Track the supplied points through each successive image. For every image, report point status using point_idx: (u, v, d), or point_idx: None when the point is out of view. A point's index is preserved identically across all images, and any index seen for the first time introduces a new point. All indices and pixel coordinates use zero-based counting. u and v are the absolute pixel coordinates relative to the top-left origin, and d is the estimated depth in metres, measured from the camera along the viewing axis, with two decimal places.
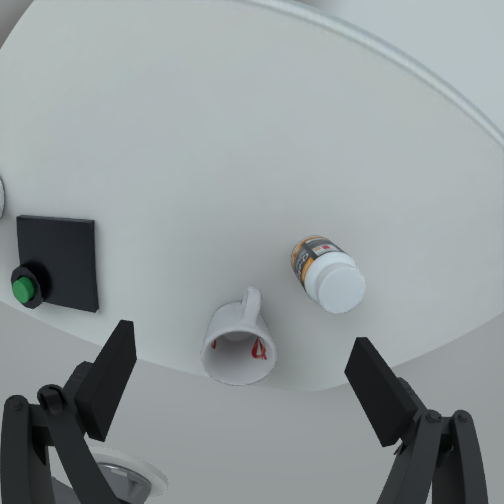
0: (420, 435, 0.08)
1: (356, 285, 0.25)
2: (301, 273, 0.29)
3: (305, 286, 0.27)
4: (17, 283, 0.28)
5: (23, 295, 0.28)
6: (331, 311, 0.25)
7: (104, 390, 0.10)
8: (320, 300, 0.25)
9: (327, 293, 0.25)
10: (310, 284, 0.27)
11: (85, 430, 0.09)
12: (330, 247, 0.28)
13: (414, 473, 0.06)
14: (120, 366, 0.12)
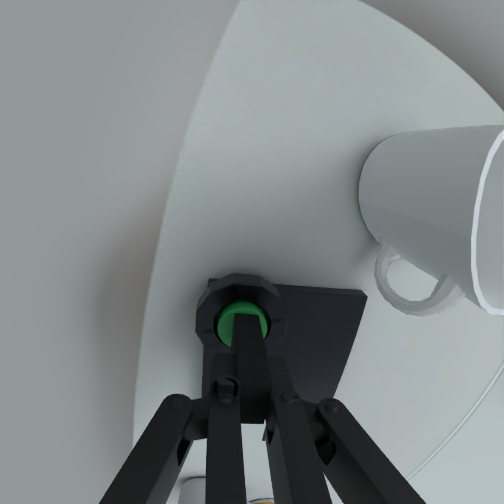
0: (282, 423, 0.09)
1: None
2: None
3: None
4: (262, 329, 0.18)
5: None
6: None
7: None
8: None
9: None
10: None
11: None
12: None
13: (297, 467, 0.07)
14: None
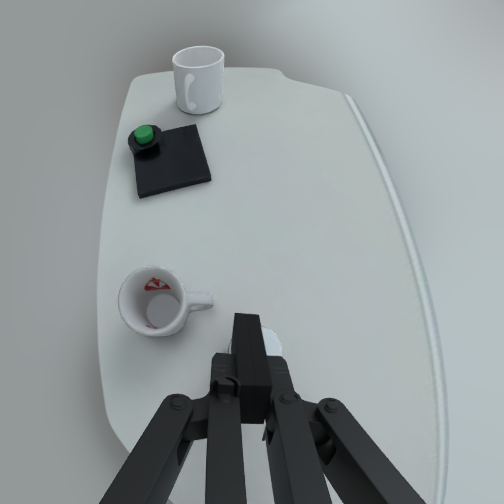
0: (282, 423, 0.09)
1: None
2: None
3: None
4: (150, 128, 0.43)
5: (141, 133, 0.43)
6: None
7: None
8: None
9: None
10: None
11: None
12: None
13: (296, 467, 0.07)
14: None
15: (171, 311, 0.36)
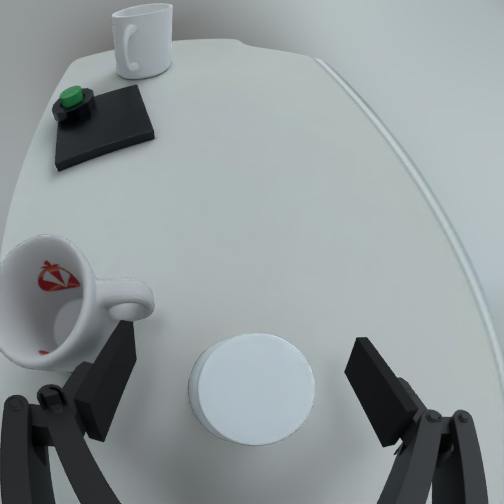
0: (420, 435, 0.08)
1: (287, 408, 0.10)
2: None
3: (207, 349, 0.13)
4: (79, 88, 0.27)
5: (67, 94, 0.26)
6: (201, 396, 0.10)
7: (104, 390, 0.10)
8: (212, 355, 0.10)
9: (235, 359, 0.10)
10: None
11: (85, 430, 0.09)
12: None
13: (414, 473, 0.06)
14: (120, 366, 0.12)
15: None
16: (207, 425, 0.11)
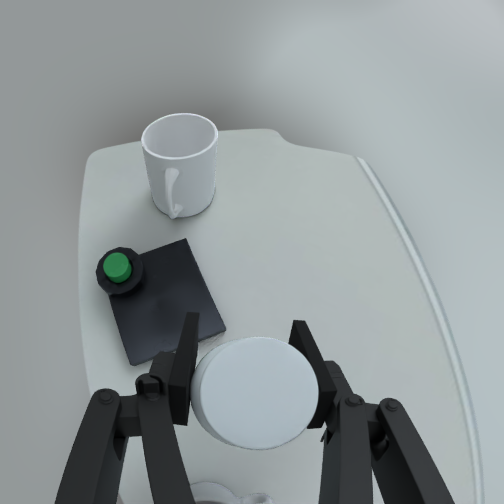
0: (344, 423, 0.09)
1: (290, 412, 0.10)
2: None
3: (209, 352, 0.13)
4: (125, 259, 0.31)
5: (114, 270, 0.30)
6: (204, 400, 0.09)
7: (189, 375, 0.12)
8: (215, 359, 0.10)
9: (238, 363, 0.10)
10: None
11: (170, 416, 0.11)
12: None
13: (349, 465, 0.07)
14: (194, 354, 0.14)
15: (217, 503, 0.22)
16: (209, 429, 0.11)
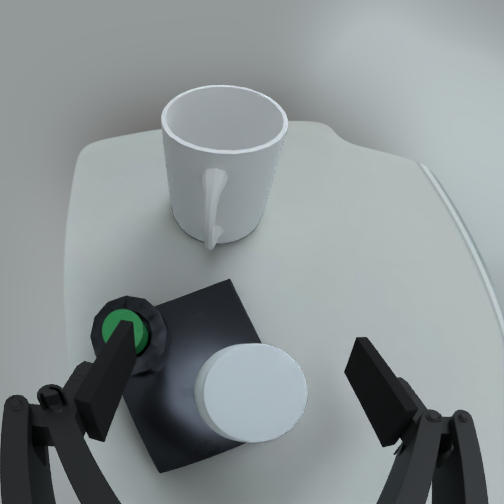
0: (420, 435, 0.08)
1: (282, 410, 0.11)
2: None
3: (211, 356, 0.14)
4: (137, 322, 0.18)
5: None
6: (206, 399, 0.11)
7: (104, 390, 0.10)
8: (216, 363, 0.12)
9: (236, 366, 0.12)
10: None
11: (85, 430, 0.09)
12: None
13: (413, 473, 0.06)
14: (120, 366, 0.12)
15: None
16: (211, 425, 0.12)
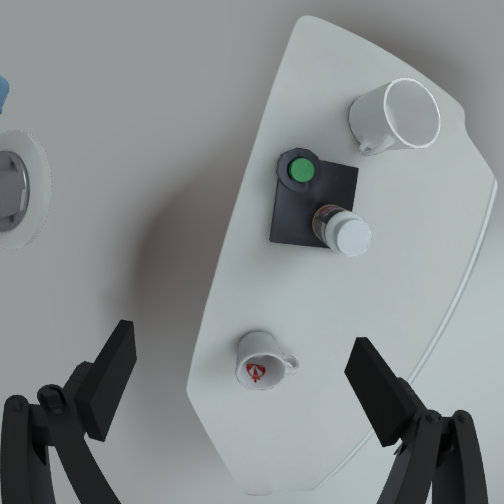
0: (420, 435, 0.08)
1: (357, 249, 0.33)
2: (344, 209, 0.36)
3: (343, 211, 0.34)
4: (312, 170, 0.37)
5: (299, 174, 0.37)
6: (340, 231, 0.32)
7: (104, 390, 0.10)
8: (350, 221, 0.32)
9: (355, 226, 0.32)
10: (348, 215, 0.34)
11: (85, 430, 0.09)
12: None
13: (414, 473, 0.06)
14: (120, 366, 0.12)
15: None
16: (328, 237, 0.35)
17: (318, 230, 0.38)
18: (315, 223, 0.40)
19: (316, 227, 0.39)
